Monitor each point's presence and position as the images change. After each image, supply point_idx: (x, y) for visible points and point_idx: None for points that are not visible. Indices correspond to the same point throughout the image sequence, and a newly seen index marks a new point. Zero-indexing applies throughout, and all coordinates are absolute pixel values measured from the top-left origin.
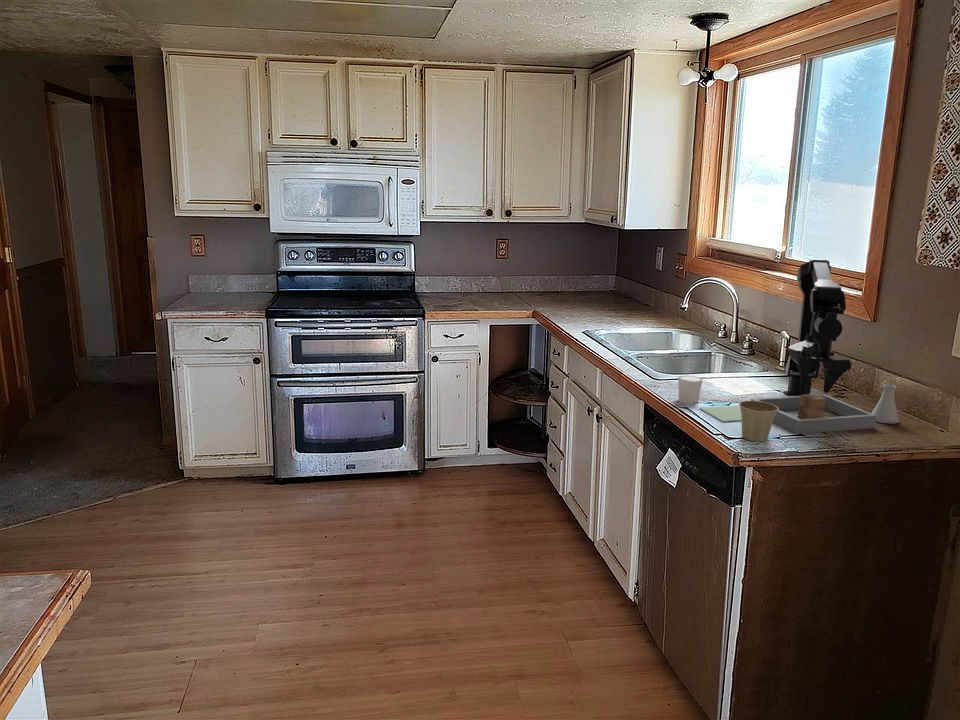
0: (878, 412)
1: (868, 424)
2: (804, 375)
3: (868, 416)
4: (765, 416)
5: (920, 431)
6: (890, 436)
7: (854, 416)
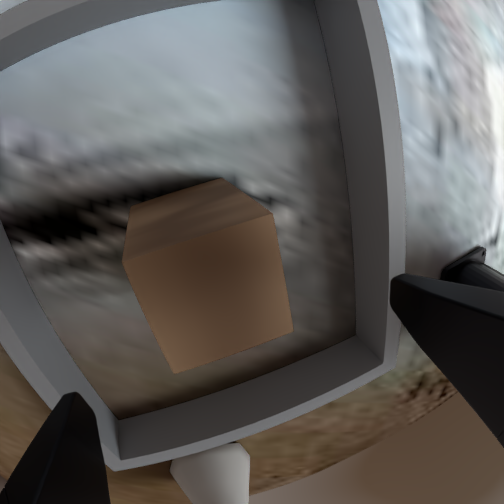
0: (202, 475)
1: None
2: (447, 332)
3: None
4: None
5: (124, 493)
6: None
7: None
